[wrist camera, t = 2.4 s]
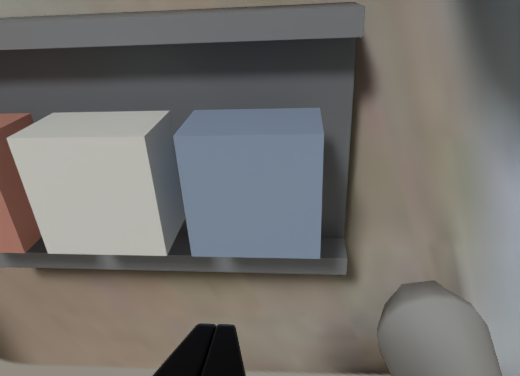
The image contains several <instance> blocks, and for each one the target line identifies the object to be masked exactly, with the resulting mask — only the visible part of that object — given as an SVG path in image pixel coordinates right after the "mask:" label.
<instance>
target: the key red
mask: <svg viewBox="0 0 520 376" xmlns="http://www.w3.org/2000/svg"><path fill="white" fill-rule="evenodd" d="M33 123H34V121H33V118H32V115H31V113H8V114H0V253H26V252H27V251H28V250H29V249H30V248H31V247H32V246H33V245H34V244H35V243H36V242H37V241H38V240H39V239H40V238H41V237H42V236H41V233H40V230H39V227H38V225H37V222H36V219H35V216H34V214H33V211H32V208H31V205H30V202H29V200H28V197H27V194H26V191H25V189H24V186H23V183H22V180H21V178H20V175H19V172H18V169H17V167H16V164H15V161H14V158H13V155H12V153H11V150H10V147H9V144H8V142H7V139H6V138H7V137H9V136H11V135H13V134H15V133H17V132H18V131H20V130H22V129H24V128H26V127H28V126H30V125H31V124H33Z"/></svg>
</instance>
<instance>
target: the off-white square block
mask: <svg viewBox="0 0 520 376" xmlns="http://www.w3.org/2000/svg"><path fill="white" fill-rule="evenodd" d="M173 136H174V134H173V127H172V121H171V114H170V110H169V111H115V112H62V113H52V114H50V115H48V116H46V117H44V118H42V119H41V120H39V121H37V122H35V123H33V124H31V125H30V126H28V127H26V128H24V129H22V130H20V131H18V132H17V133H15V134H13V135H11V136H9V137H7V138H6V139H7V142H8V144H9V147H10V150H11V153H12V155H13V158H14V161H15V164H16V167H17V169H18V172H19V175H20V178H21V180H22V183H23V186H24V189H25V191H26V194H27V197H28V200H29V202H30V205H31V208H32V211H33V214H34V216H35V219H36V222H37V225H38V227H39V230H40V233H41V236H42V238H43V241H44V244H45V247H46V250H47V252H48V254H90V255H143V256H167V255H168V253H169V251H170V249H171V247H172V244H173V242H174V240H175V238H176V236H177V234H178V232H179V230H180V228H181V226H182V224H183V222H184V220H185V217H186V216H185V210H184V204H183V197H182V191H181V184H180V178H179V171H178V165H177V158H176V152H175V145H174V139H173Z"/></svg>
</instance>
